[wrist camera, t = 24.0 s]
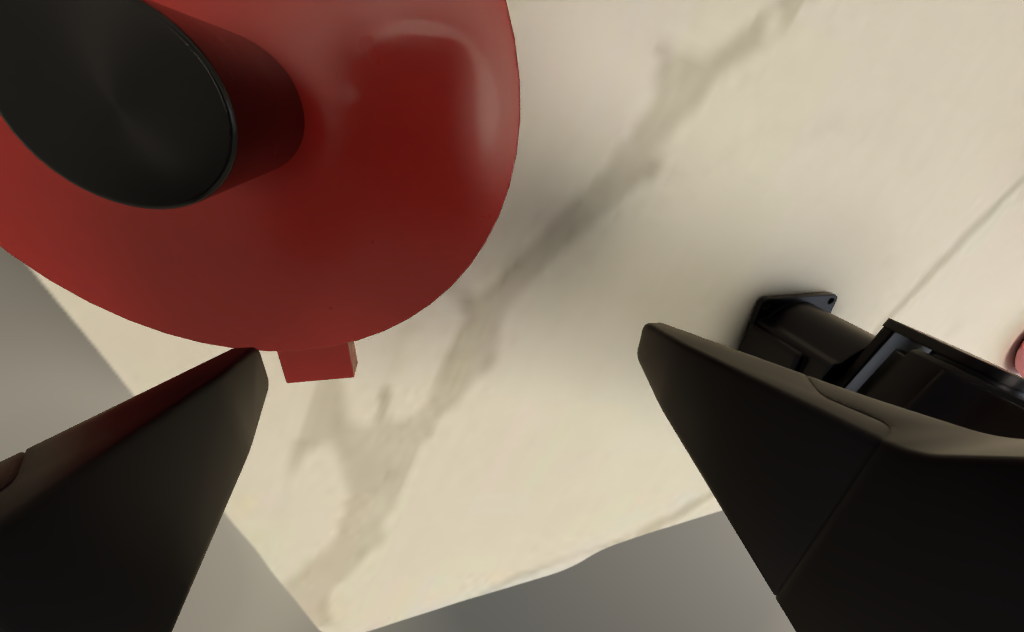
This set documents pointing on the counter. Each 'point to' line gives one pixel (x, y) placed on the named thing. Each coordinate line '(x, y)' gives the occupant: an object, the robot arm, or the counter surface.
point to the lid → (255, 158)
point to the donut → (1020, 360)
